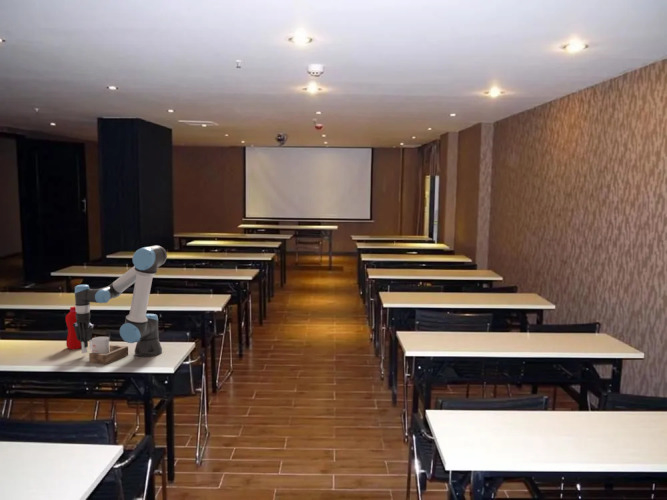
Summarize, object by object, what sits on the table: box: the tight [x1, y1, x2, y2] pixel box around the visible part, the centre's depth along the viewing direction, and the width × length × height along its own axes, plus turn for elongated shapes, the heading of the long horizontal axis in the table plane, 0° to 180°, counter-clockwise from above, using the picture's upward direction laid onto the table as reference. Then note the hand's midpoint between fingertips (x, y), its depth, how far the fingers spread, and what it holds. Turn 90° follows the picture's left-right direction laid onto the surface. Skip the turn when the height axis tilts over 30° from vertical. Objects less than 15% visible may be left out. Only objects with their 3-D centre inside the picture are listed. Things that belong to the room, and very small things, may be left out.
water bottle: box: [65, 306, 82, 351], centre depth 350 cm, size 9×11×25 cm
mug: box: [88, 336, 110, 354], centre depth 330 cm, size 12×9×11 cm
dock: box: [88, 344, 129, 365], centre depth 328 cm, size 11×19×5 cm, turn 163°
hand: (84, 352), depth 333 cm, fingers closed
